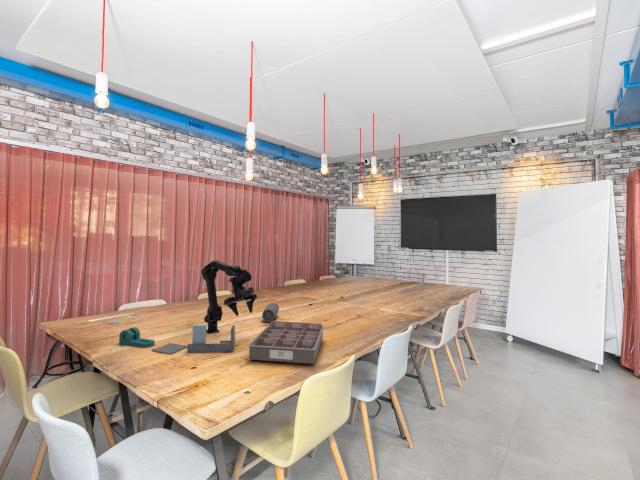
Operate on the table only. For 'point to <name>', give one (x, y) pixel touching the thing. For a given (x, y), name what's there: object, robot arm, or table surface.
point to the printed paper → (114, 320)
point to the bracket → (134, 339)
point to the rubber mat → (170, 348)
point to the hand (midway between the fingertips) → (244, 314)
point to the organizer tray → (287, 342)
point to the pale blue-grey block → (199, 334)
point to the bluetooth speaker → (270, 312)
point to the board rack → (214, 345)
